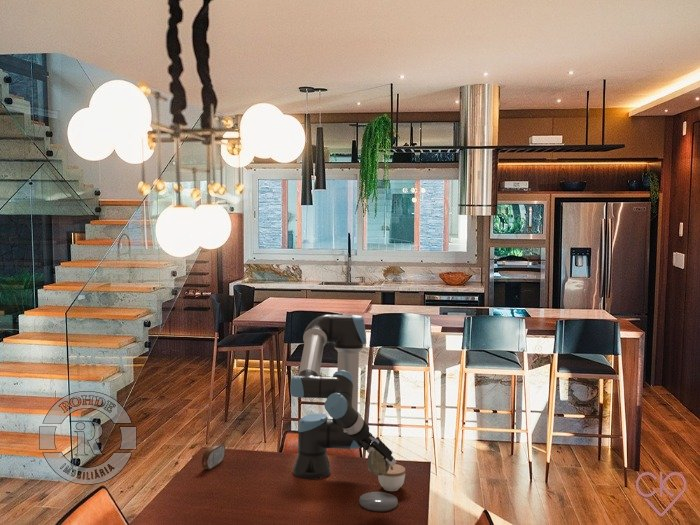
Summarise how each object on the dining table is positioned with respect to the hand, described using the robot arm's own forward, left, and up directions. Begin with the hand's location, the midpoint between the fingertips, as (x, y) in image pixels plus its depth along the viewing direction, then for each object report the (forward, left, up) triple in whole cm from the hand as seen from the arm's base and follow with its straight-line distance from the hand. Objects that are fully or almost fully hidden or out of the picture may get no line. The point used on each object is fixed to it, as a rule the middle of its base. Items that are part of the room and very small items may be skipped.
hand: (385, 460), depth 241 cm
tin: (-70, -30, -15) cm, 77 cm away
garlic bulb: (0, -4, -4) cm, 5 cm away
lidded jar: (-6, +10, -15) cm, 19 cm away
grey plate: (0, -3, -15) cm, 15 cm away
